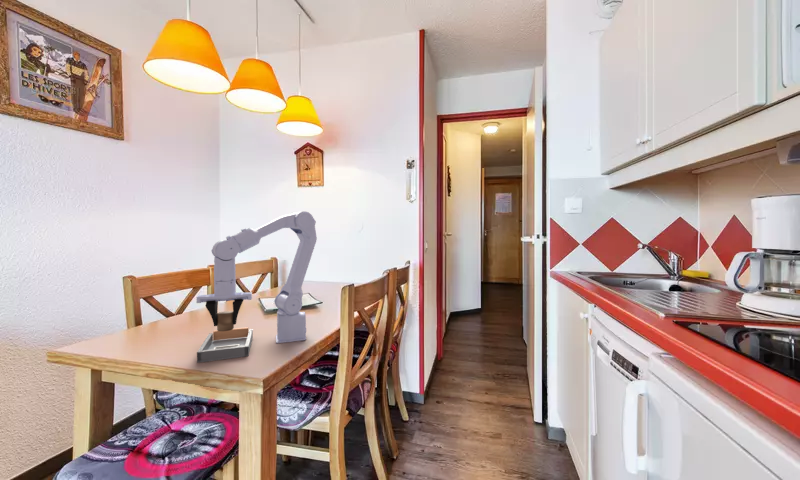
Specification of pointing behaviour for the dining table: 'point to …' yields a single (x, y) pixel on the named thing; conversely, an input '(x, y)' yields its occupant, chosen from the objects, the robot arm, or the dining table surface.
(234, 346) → the housing
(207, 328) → the dining table surface
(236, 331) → the gate
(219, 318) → the brown rounded block
